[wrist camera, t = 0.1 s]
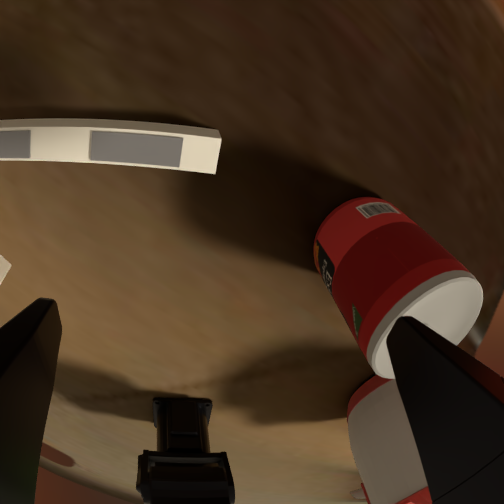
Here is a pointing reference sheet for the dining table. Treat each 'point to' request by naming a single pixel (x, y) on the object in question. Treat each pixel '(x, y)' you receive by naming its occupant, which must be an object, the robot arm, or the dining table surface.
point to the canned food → (391, 277)
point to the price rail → (111, 143)
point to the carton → (3, 268)
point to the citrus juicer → (384, 446)
